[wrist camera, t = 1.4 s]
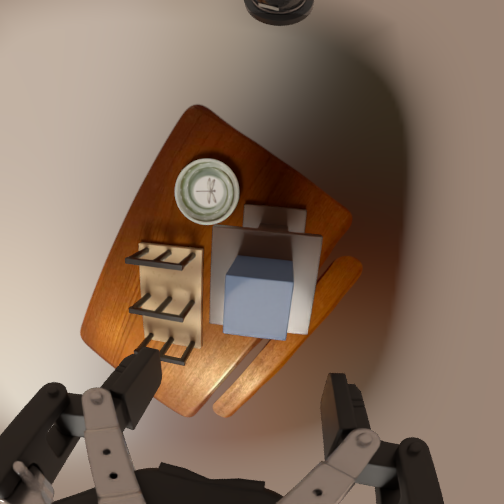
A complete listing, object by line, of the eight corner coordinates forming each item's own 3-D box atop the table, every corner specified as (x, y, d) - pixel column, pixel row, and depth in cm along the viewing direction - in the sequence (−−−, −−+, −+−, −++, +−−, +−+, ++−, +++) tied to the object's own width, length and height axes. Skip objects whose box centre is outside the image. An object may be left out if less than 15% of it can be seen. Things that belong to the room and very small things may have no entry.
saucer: (173, 168, 43) (167, 168, 41) (233, 152, 42) (230, 150, 39) (187, 228, 45) (182, 231, 43) (248, 215, 44) (245, 217, 41)
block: (237, 254, 25) (225, 274, 20) (292, 260, 24) (294, 281, 19) (234, 305, 26) (222, 333, 21) (286, 311, 25) (285, 341, 21)
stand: (245, 203, 43) (212, 226, 24) (306, 209, 43) (322, 237, 23) (241, 261, 46) (209, 323, 27) (299, 268, 45) (307, 334, 26)
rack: (141, 242, 47) (119, 253, 40) (203, 248, 46) (189, 262, 39) (146, 335, 52) (129, 356, 44) (202, 346, 51) (190, 369, 43)
